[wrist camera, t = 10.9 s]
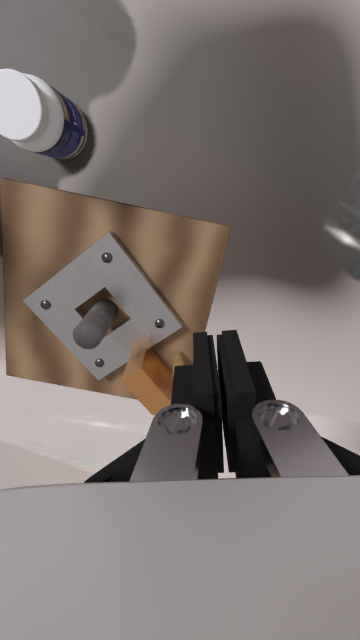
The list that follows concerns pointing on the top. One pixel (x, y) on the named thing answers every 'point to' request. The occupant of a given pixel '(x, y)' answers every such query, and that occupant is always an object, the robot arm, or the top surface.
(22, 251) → the board
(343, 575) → the robot arm
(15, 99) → the pill bottle
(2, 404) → the top surface
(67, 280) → the flange plate
